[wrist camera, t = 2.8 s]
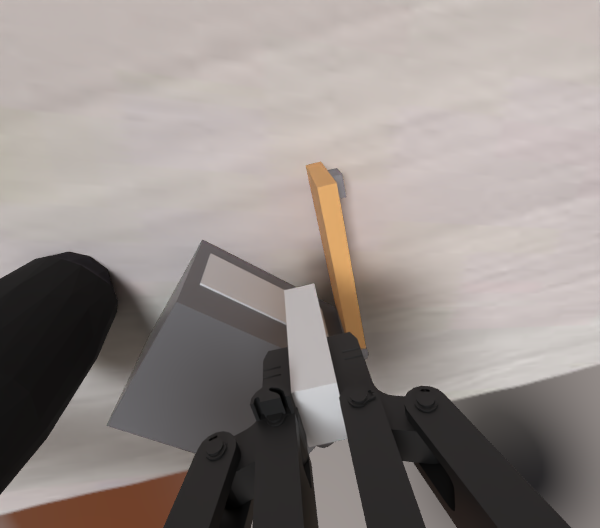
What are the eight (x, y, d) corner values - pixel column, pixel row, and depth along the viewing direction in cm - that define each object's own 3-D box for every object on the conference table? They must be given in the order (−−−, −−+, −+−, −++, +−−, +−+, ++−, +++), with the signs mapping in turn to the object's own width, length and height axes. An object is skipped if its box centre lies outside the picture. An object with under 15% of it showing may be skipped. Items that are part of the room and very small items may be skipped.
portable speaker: (-1, 251, 30) (-386, 485, 12) (114, 241, 30) (-96, 452, 13) (39, 335, 33) (-211, 604, 16) (140, 324, 34) (7, 575, 16)
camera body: (147, 338, 35) (101, 435, 25) (203, 238, 31) (174, 306, 21) (301, 399, 40) (312, 499, 30) (365, 321, 36) (402, 406, 26)
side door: (304, 165, 28) (315, 188, 21) (330, 159, 28) (349, 179, 21) (336, 313, 34) (351, 363, 28) (357, 308, 34) (378, 357, 28)
